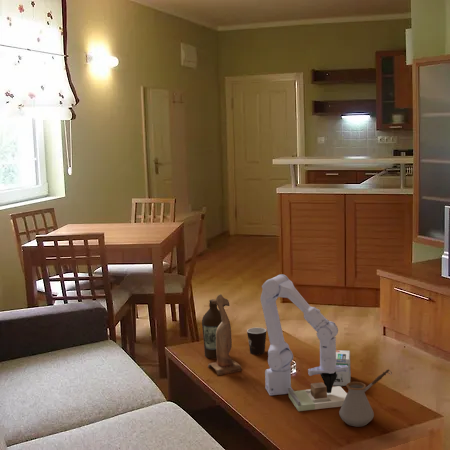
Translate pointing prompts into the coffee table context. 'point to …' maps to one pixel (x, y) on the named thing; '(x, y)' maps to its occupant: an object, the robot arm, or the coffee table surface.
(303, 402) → the trap deck
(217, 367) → the bird sculpture
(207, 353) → the olive oil
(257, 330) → the coffee mug
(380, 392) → the coffee table surface
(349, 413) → the coffee pot
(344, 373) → the light bulb box
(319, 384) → the walnut block
